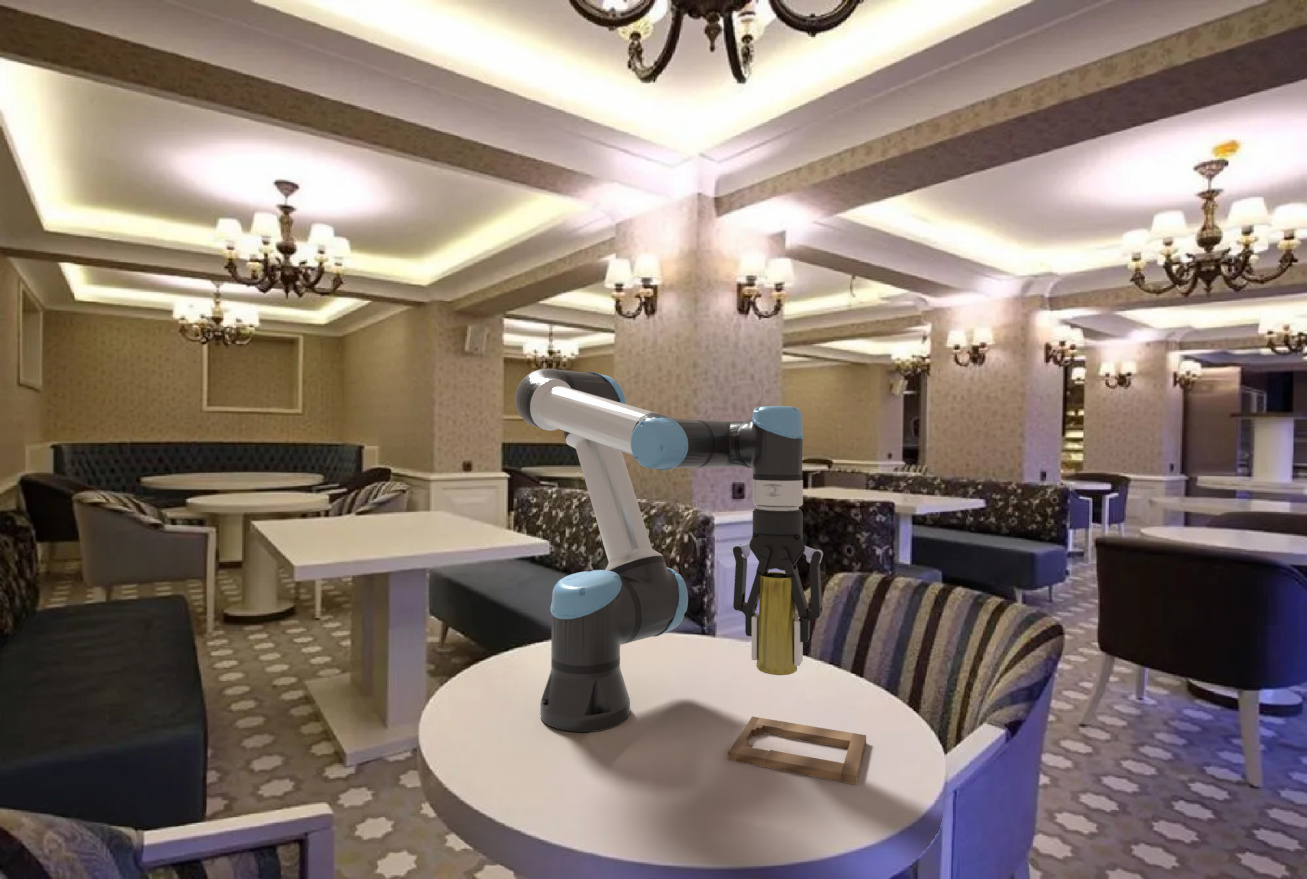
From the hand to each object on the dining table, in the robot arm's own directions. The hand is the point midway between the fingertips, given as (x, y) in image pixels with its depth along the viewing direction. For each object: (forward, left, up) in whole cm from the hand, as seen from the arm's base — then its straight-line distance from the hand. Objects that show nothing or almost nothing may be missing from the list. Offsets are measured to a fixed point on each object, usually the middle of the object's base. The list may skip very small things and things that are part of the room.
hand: (777, 659), depth 103 cm
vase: (0, 0, -2) cm, 2 cm away
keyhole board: (+3, 0, -13) cm, 14 cm away
